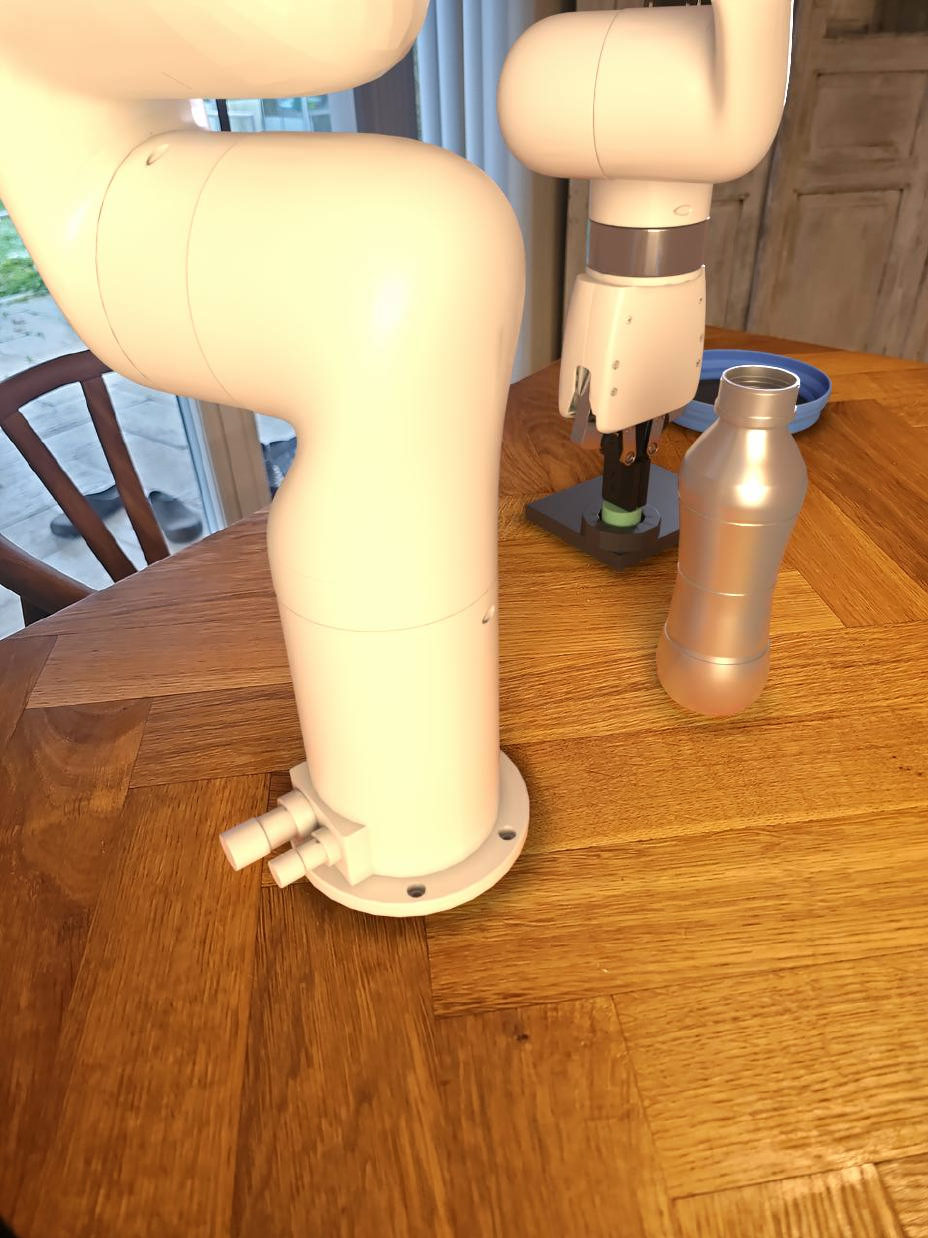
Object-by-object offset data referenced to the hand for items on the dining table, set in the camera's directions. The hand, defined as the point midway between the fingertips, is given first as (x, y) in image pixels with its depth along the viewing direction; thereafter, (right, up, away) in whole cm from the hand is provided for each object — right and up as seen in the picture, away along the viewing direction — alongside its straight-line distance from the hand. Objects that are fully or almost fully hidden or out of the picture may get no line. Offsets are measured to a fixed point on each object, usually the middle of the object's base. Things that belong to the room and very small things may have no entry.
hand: (623, 502), depth 65 cm
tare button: (0, -2, +1) cm, 2 cm away
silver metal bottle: (+3, -14, -12) cm, 19 cm away
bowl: (+17, +13, +25) cm, 33 cm away
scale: (+2, 0, +6) cm, 6 cm away
